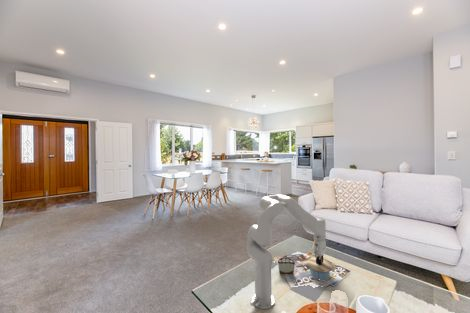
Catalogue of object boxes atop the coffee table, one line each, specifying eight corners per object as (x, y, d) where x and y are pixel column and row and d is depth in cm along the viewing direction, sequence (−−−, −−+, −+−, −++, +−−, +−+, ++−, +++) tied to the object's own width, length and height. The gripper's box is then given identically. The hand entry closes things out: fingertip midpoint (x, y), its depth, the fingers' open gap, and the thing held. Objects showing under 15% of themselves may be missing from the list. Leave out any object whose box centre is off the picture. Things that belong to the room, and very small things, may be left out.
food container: (294, 270, 151) (293, 257, 151) (295, 275, 145) (295, 261, 145) (276, 270, 153) (276, 256, 152) (277, 275, 146) (277, 261, 146)
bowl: (325, 284, 136) (325, 275, 135) (307, 276, 144) (307, 268, 144) (332, 275, 144) (332, 267, 144) (314, 268, 153) (314, 260, 152)
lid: (327, 275, 133) (327, 266, 132) (303, 265, 144) (303, 257, 143) (336, 264, 144) (336, 255, 144) (313, 256, 155) (313, 248, 155)
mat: (315, 303, 120) (315, 302, 120) (289, 290, 131) (289, 289, 131) (326, 288, 132) (326, 287, 132) (301, 278, 143) (301, 276, 143)
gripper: (320, 242, 134) (320, 270, 135) (329, 234, 146) (329, 259, 147) (308, 239, 139) (309, 266, 140) (318, 231, 151) (319, 256, 152)
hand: (319, 262), depth 144 cm, fingers closed on lid, 3 cm apart
